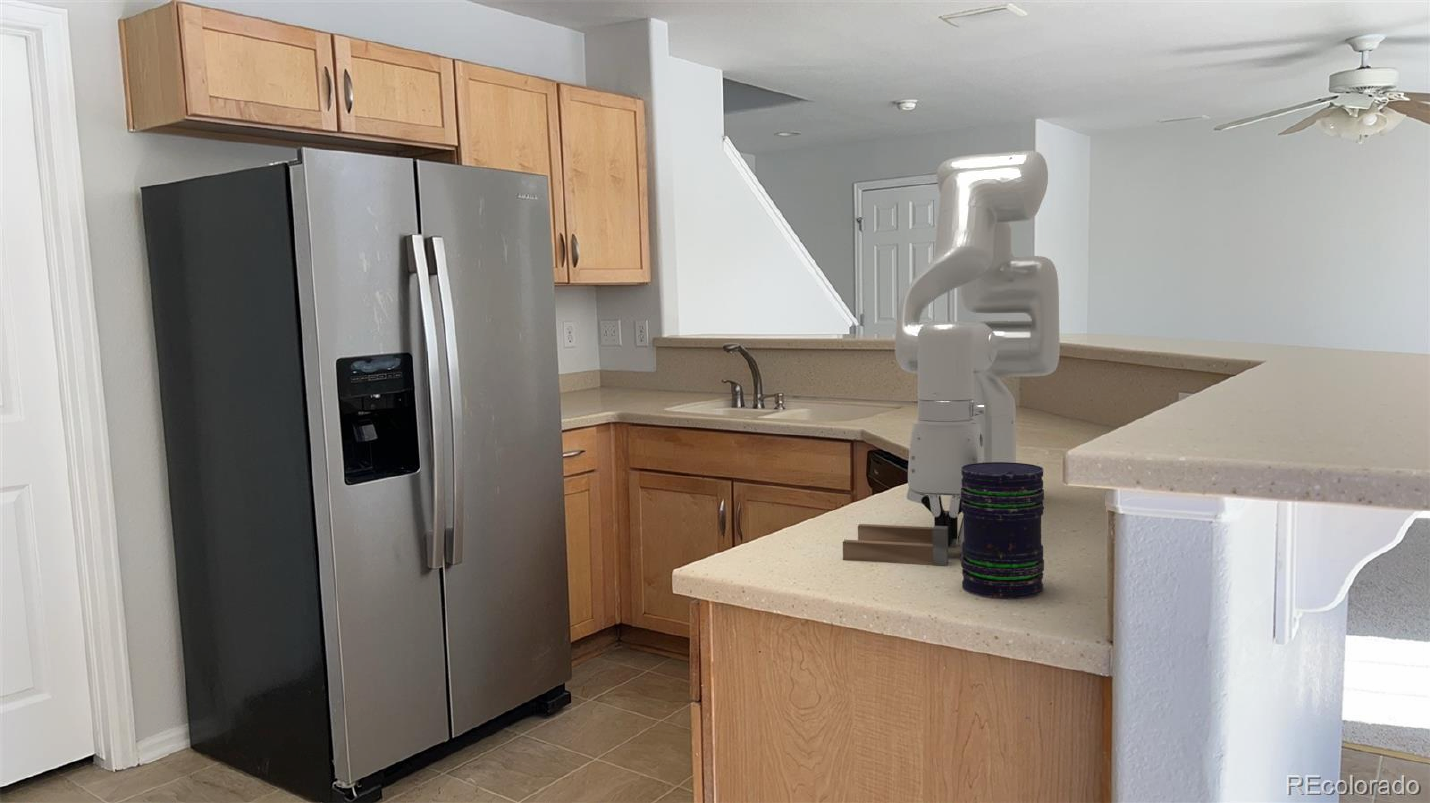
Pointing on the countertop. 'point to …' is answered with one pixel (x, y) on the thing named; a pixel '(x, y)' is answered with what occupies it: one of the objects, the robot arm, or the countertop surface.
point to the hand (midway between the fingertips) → (946, 543)
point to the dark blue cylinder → (1002, 530)
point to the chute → (899, 544)
